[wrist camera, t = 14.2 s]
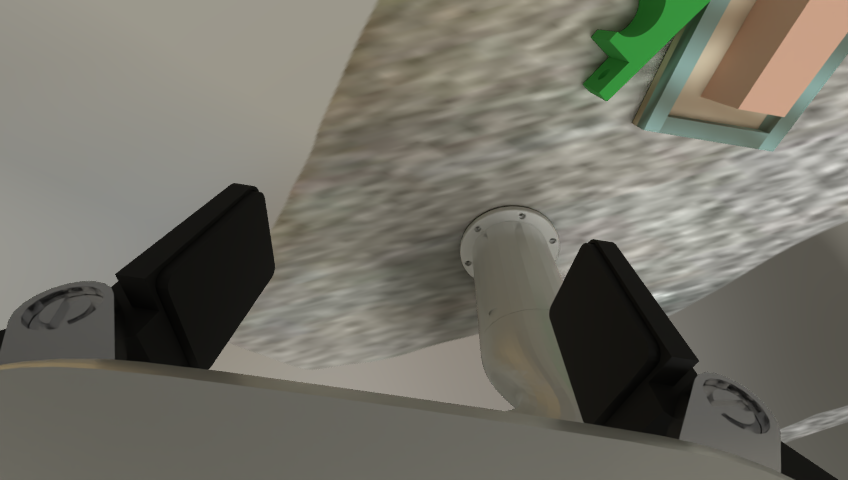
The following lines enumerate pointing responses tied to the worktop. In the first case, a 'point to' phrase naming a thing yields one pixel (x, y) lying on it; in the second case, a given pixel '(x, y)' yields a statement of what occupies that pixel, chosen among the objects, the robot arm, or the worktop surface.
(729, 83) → the salmon pink rectangular block
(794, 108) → the nest board
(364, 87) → the worktop surface
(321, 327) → the worktop surface
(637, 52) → the pipe clamp
